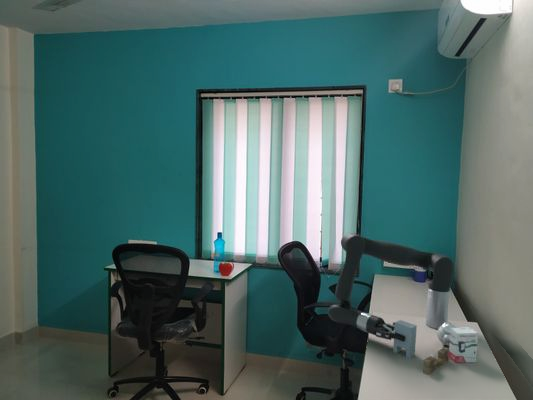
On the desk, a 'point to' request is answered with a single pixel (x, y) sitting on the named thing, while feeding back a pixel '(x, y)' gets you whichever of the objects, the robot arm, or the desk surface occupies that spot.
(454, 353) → the ink box
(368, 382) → the desk surface
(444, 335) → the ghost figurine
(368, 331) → the robot arm
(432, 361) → the notched rail
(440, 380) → the desk surface
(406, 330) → the notched block
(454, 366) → the desk surface
